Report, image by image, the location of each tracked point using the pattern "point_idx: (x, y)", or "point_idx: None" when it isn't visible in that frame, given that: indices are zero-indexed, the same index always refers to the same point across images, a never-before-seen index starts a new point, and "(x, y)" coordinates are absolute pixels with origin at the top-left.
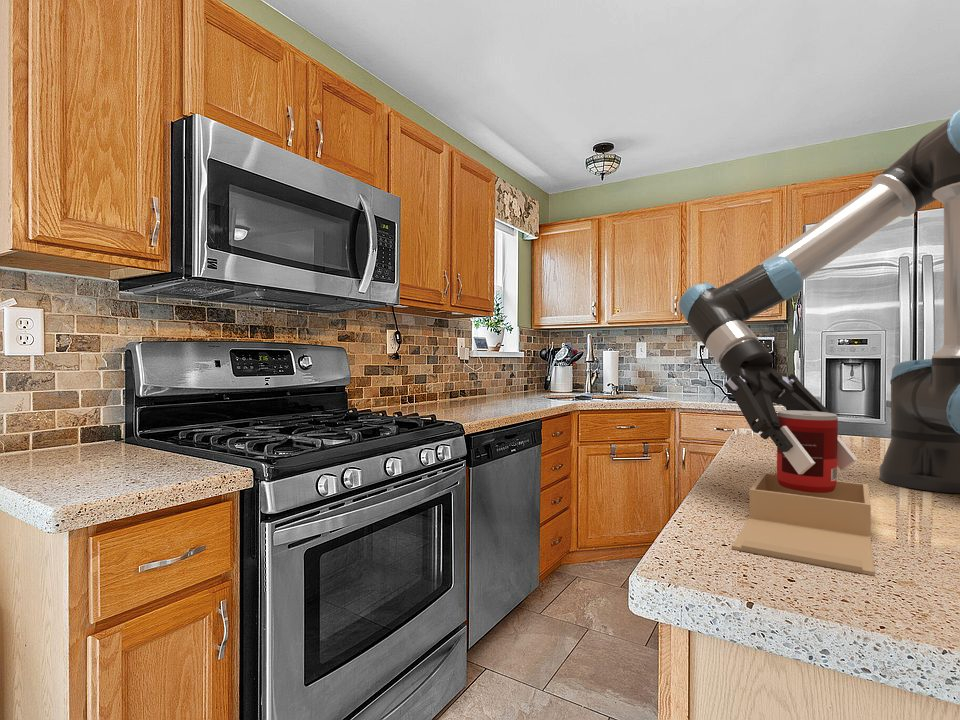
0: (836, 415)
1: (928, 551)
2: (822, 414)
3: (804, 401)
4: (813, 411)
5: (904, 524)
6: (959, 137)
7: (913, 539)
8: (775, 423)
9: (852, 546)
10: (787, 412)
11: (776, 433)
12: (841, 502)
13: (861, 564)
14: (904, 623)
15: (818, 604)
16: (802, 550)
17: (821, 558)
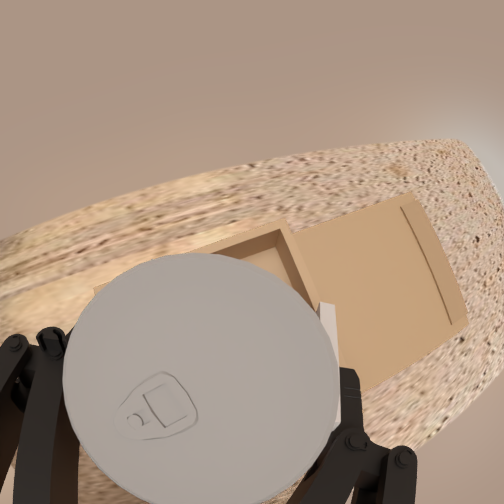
0: (166, 256)
1: (264, 179)
2: (100, 349)
3: (24, 453)
4: (70, 400)
5: (140, 240)
6: None
7: (219, 206)
8: (365, 439)
9: (351, 235)
10: (178, 488)
11: (361, 419)
12: (303, 260)
13: (411, 202)
14: (461, 159)
15: (488, 205)
16: (429, 261)
17: (432, 236)
